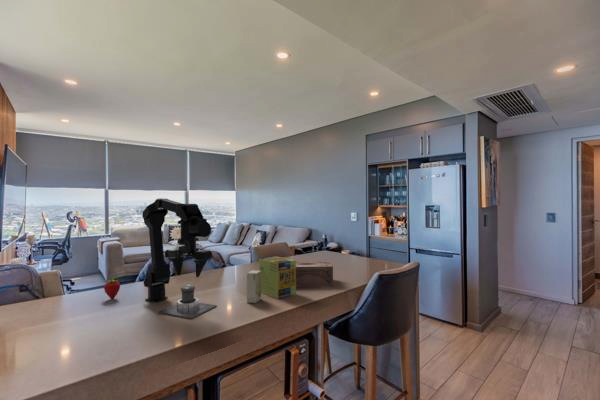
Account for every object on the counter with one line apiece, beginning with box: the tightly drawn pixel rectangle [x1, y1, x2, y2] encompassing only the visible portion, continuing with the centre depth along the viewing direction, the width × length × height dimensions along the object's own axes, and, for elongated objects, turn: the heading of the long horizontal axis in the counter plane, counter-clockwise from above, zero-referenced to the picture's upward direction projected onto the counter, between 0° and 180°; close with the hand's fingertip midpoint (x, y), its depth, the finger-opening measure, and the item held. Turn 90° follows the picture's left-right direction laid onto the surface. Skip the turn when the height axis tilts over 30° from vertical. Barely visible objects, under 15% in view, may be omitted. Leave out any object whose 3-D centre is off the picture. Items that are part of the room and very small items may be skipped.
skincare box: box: [246, 269, 262, 304], centre depth 124 cm, size 6×4×12 cm
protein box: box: [258, 256, 297, 300], centre depth 136 cm, size 10×15×16 cm
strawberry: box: [103, 276, 121, 300], centre depth 127 cm, size 6×8×10 cm
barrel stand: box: [157, 296, 218, 320], centre depth 113 cm, size 16×14×4 cm
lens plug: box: [180, 285, 196, 303], centre depth 113 cm, size 5×5×8 cm
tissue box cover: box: [296, 260, 334, 288], centre depth 154 cm, size 26×14×10 cm, turn 92°
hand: (188, 276), depth 114 cm, fingers open, 9 cm apart
